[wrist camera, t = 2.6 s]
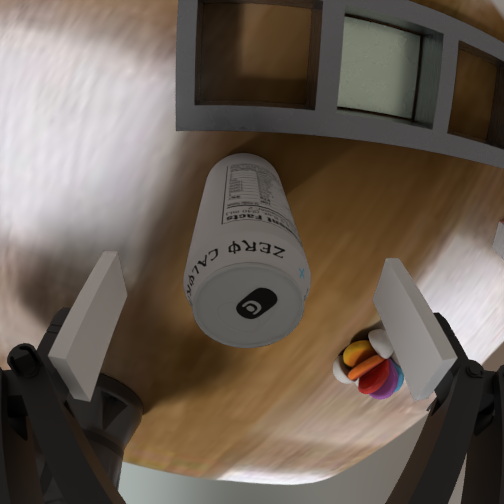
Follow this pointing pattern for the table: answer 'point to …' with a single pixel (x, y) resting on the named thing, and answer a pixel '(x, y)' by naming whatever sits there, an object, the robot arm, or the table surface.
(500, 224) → the white printed box
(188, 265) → the energy drink can
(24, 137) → the table surface
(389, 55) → the rack
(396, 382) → the rainbow disc toy
